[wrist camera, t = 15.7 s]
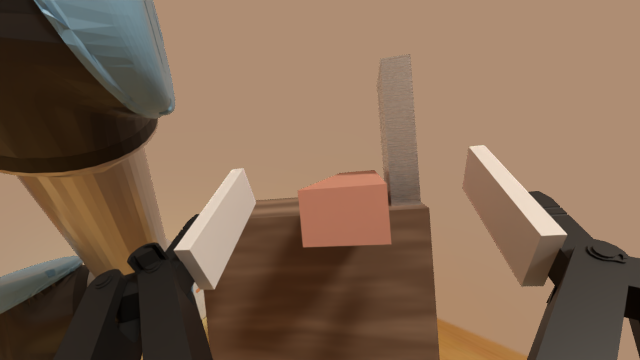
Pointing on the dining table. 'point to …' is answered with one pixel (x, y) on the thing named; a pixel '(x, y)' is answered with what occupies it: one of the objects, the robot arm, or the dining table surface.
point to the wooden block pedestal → (325, 293)
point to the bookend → (398, 130)
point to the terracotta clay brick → (345, 211)
